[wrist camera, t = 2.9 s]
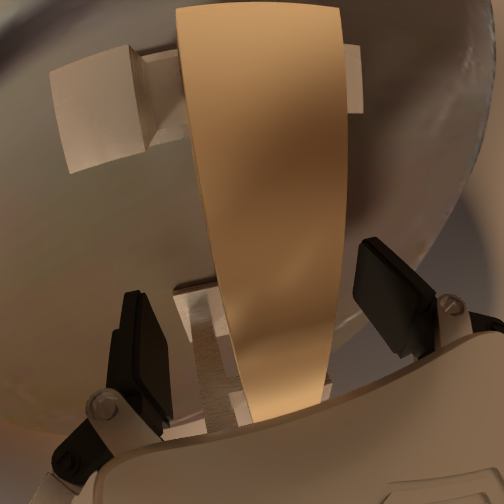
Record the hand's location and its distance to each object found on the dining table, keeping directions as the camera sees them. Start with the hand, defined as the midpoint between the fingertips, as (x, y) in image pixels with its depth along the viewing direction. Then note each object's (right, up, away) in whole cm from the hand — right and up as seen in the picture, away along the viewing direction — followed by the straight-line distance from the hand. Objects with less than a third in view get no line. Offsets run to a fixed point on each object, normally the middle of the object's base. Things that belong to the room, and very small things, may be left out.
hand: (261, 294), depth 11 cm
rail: (0, 0, 0) cm, 0 cm away
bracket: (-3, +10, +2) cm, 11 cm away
